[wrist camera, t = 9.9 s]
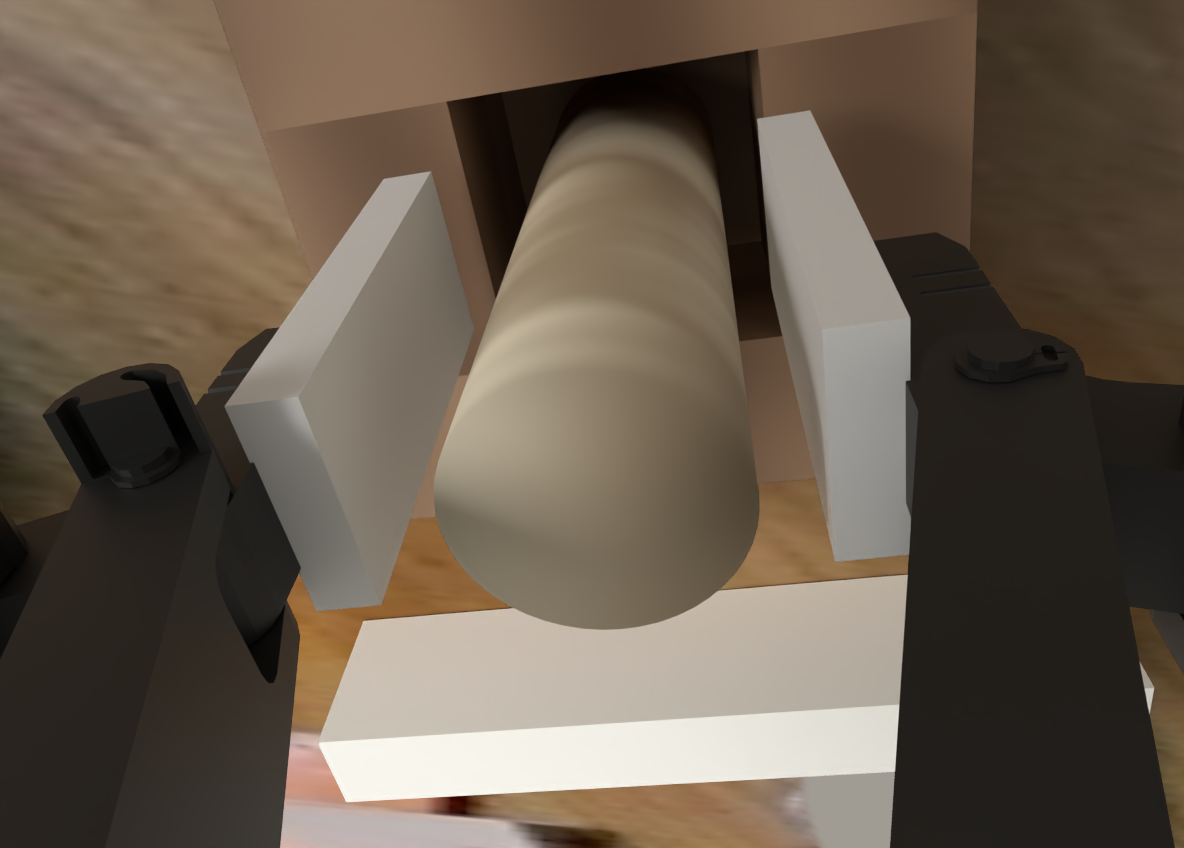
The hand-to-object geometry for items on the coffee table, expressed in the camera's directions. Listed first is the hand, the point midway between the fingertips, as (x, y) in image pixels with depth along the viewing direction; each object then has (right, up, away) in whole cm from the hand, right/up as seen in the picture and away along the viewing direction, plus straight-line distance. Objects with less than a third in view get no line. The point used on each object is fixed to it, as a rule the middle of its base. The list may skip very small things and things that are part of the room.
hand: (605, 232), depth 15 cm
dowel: (+1, +3, +5) cm, 5 cm away
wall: (+3, -9, +13) cm, 16 cm away
